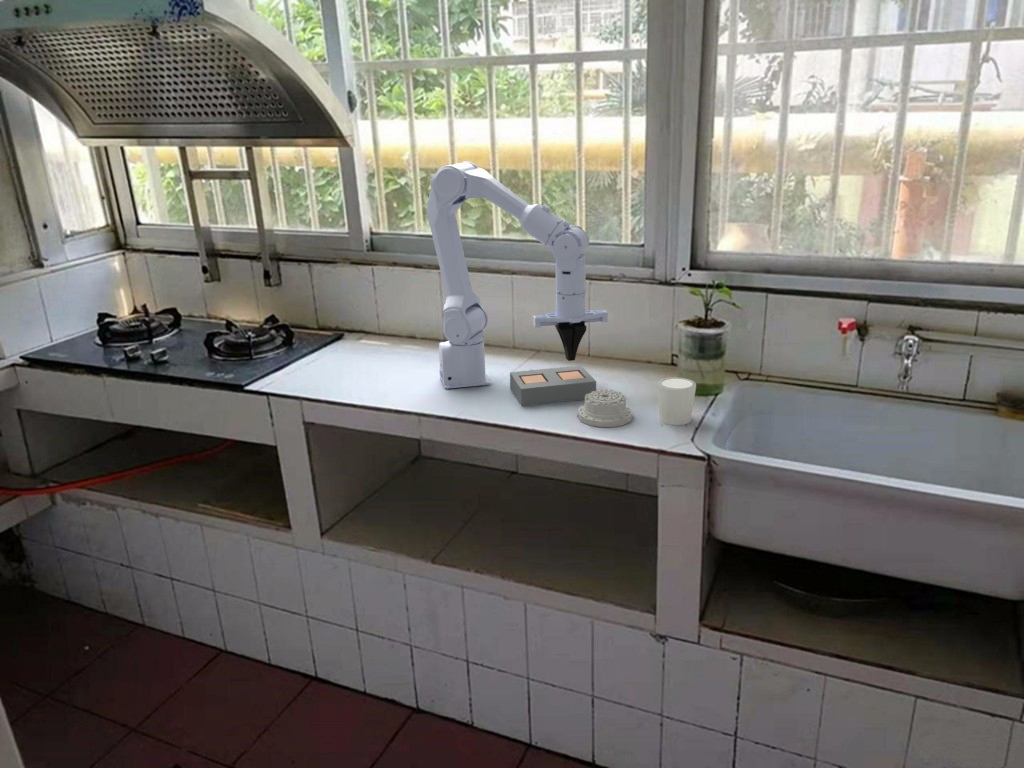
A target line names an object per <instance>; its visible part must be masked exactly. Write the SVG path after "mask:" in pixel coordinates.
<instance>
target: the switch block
mask: <svg viewBox="0 0 1024 768" xmlns="http://www.w3.org/2000/svg"><path fill="white" fill-rule="evenodd" d="M573 371H578V372H579V373H580V374H581V375H582V376H583V377H584V378H579V379H569V380H561V378H560V377H559V376H558V373H563V372H573ZM533 375H542V376H543V378H544V379H545V380H546V382H539V383H529V384H524V383H523V382H522V380H521V377H523V376H533ZM509 386H510V387H509V388H510V391H511V392H512V394H513V395H514V397H515V399H516V400H517V402H518V403H519V404H520V406H521V407H525V406H535V405H543V404H545V405H546V404H552V403H553V404H554V403H563V402H572V401H574V402H575V401H581V400H585V396H586V394H589V393H592V391H597V380H595V378H594V377H593V376H592V375H591V373H589V372H588V371H587V369H585V367H583V365H572V366H562V367H560V366H559V367H551V368H549V367H548V368H541V369H540V368H539V369H529V370H521V371H520V370H519V371H510V372H509Z"/></svg>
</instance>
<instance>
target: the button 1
mask: <svg viewBox="0 0 1024 768" xmlns="http://www.w3.org/2000/svg"><path fill="white" fill-rule="evenodd" d="M521 380H522V382H523V383H524V384H529V383H539V382H546V380H545V379H544V378H543V376H542V375H533V376H523V377H521Z"/></svg>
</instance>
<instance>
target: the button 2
mask: <svg viewBox="0 0 1024 768" xmlns="http://www.w3.org/2000/svg"><path fill="white" fill-rule="evenodd" d="M558 376H559V377H560V378H561V380H569V379H579V378H584V377H583V376H582V375H581V374H580V373H579V372H578V371H573V372H563V373H558Z"/></svg>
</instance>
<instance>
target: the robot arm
mask: <svg viewBox="0 0 1024 768" xmlns="http://www.w3.org/2000/svg"><path fill="white" fill-rule="evenodd" d="M429 183H430V192H429V196H428V199H427V200H428V201H427V205H426V215H427V218H428V219H427V220H428V223H429V226H430V227H429V228H430V231H431V237H432V240H433V245H434V250H435V254H436V257H437V262H438V266H439V271H440V275H441V279H442V283H443V288H444V292H445V296H446V299H445V301H444V302H445V303H444V305H443V308H442V312H443V322H442V331H443V334H444V336H445V338H446V339H447V340H446V341H441V342H439V343H438V356H439V360H438V361H439V376H440V380H441V382H442V384H443V388H444V389H446V390H447V389H448V390H449V389H457V388H458V389H459V388H467V387H468V388H470V387H479V386H486V385H491V381H490V379H489V378H488V377H489V376H488V375H487V374H486V359H485V357H486V356H485V355H486V354H485V336H484V330H485V328H487V325H488V321H489V317H488V314H487V311H486V310H485V309H484V307H483V305H482V304H481V300H480V297H479V296H478V295H477V294H476V293H475V292H474V291H473V288H472V284H471V278H470V273H469V270H468V269H469V268H468V265H467V261H466V260H467V259H466V256H465V252H464V248H463V243H462V239H461V234H460V230H459V225H458V221H457V220H458V219H457V216H456V213H457V212H458V211H459V210H460V208H461V206H462V205H463V203H464V202H465V201H466V200H467V199H485V200H487V201H488V202H489V203H490V202H491V203H492V204H494V205H495V206H496V207H498V208H500V209H501V210H503V211H504V212H507V213H508V214H510V215H511V216H512V217H514V218H516V219H517V220H519V223H520V228H521V230H522V231H524V232H525V233H526V234H527V235H529V236H531V237H532V238H534V239H535V240H536V241H538V242H540V243H541V244H542V245H544V246H546V248H549V249H550V251H551V254H552V256H553V257H554V259H555V311H553V312H549V313H544V314H538V315H536V314H535V315H532V326H533V328H535V329H537V328H539V329H540V328H541V327H549V326H554V327H555V329H556V331H557V333H558V335H559V337H560V339H561V343H562V346H563V350H564V355H565V360H567V361H568V362H570V361H576V357H577V352H578V350H579V346H580V344H581V341H582V339H583V336H584V335H585V334H586V331H587V325H586V323H596V322H602V323H607V322H608V311H606V310H605V309H599V310H598V309H597V310H594V309H593V310H592V309H591V310H590V309H586V276H587V275H586V274H587V273H586V271H587V269H586V254H585V253H586V252H587V250H588V249H589V245H590V238H589V236H588V233H587V232H586V231H585V230H584V229H583V228H582V227H581V226H579V225H571V222H570V221H569V220H567V219H566V220H563V219H562V218H561V217H559V216H558V215H556V214H555V213H553V212H552V211H551V206H549V205H548V204H543V205H541V204H540V203H534V204H529V203H528V202H526V201H525V200H524V199H522V198H521V196H518V195H517V194H515V192H513V191H512V190H510V189H509V188H508V187H507V186H505V185H504V184H503V183H501V182H500V181H499V180H497V179H496V178H495V177H494V176H492V174H490V173H489V172H488V171H487V170H486V169H484V168H481V167H478V165H477V164H475V163H474V162H471V161H465V160H464V161H461V162H459V163H455V164H449V165H447V164H446V165H443V166H442V167H439V168H438V169H437V171H436V172H435V173H434V174H433V175H432V178H430V180H429Z"/></svg>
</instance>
